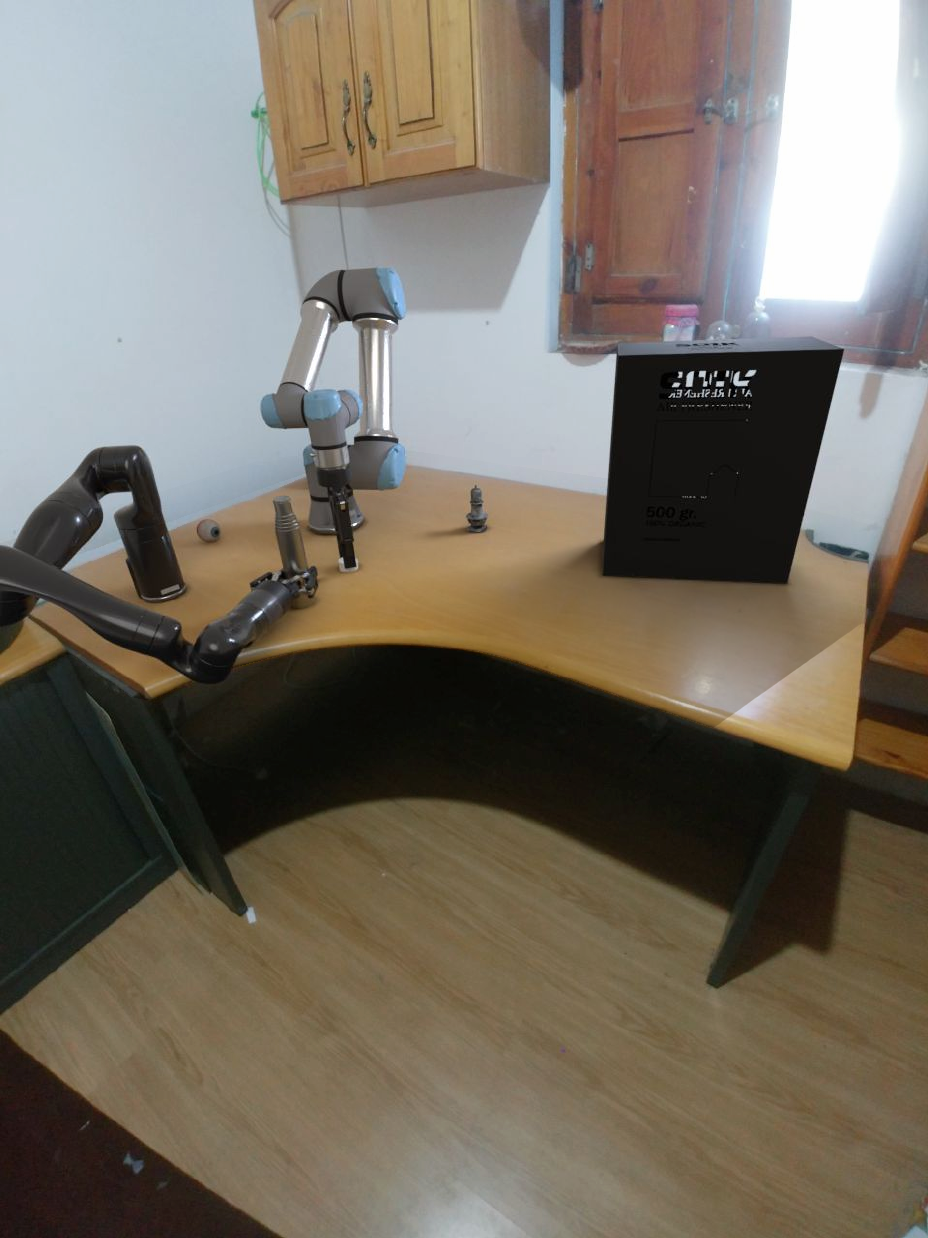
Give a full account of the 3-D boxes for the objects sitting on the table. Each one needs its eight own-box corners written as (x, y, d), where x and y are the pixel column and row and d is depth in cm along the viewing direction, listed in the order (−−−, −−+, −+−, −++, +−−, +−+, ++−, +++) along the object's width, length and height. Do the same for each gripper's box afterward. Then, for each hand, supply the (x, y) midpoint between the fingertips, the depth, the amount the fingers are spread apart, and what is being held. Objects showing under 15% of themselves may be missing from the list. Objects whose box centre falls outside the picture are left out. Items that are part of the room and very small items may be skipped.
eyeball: (210, 546, 160) (204, 525, 157) (195, 542, 163) (189, 521, 160) (228, 538, 164) (223, 518, 161) (213, 535, 167) (208, 514, 164)
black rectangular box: (766, 545, 143) (811, 336, 120) (787, 583, 126) (844, 348, 103) (603, 539, 150) (617, 342, 128) (602, 575, 133) (618, 355, 111)
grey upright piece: (486, 532, 159) (485, 488, 152) (464, 532, 160) (462, 487, 154) (490, 524, 163) (488, 481, 157) (469, 523, 165) (466, 480, 159)
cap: (362, 568, 144) (360, 559, 143) (345, 574, 141) (344, 565, 140) (352, 562, 147) (351, 554, 146) (336, 568, 144) (334, 559, 143)
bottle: (286, 605, 129) (262, 500, 118) (302, 595, 133) (281, 492, 121) (303, 610, 127) (280, 503, 115) (319, 600, 131) (299, 495, 119)
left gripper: (234, 622, 118) (276, 583, 132) (301, 627, 115) (336, 586, 129) (224, 587, 114) (268, 551, 128) (293, 592, 111) (331, 554, 125)
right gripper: (309, 458, 138) (326, 551, 150) (321, 479, 123) (339, 581, 135) (342, 453, 140) (356, 545, 152) (357, 473, 125) (372, 574, 137)
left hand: (302, 569), depth 129 cm, fingers closed on bottle, 5 cm apart
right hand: (348, 562), depth 143 cm, fingers open, 5 cm apart
